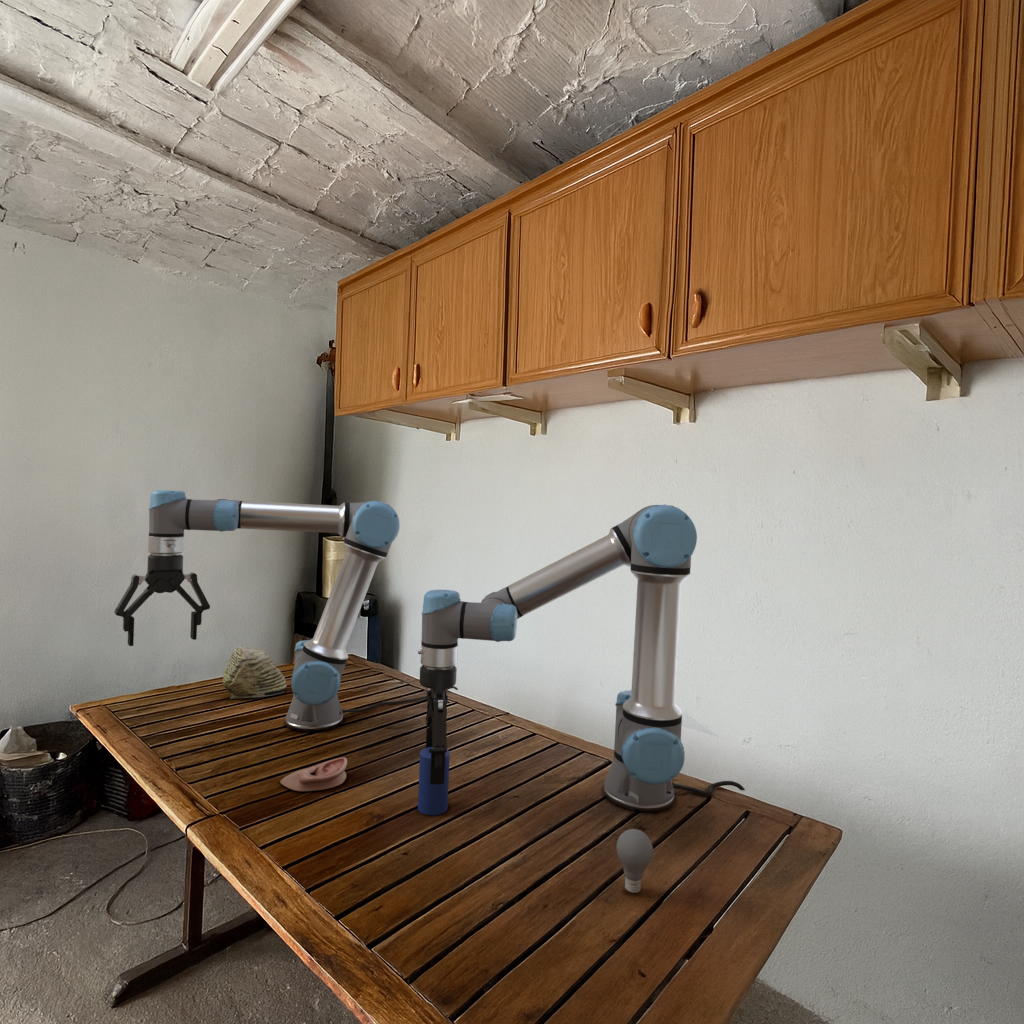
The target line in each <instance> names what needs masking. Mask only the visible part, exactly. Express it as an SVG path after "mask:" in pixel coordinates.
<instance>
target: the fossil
mask: <svg viewBox="0 0 1024 1024" xmlns="http://www.w3.org/2000/svg"><path fill="white" fill-rule="evenodd" d="M222 676H223V677H222V685H223V687H224V688H225V690H226V691H228V693H229V698H230V699H250V698H264V697H271V696H275V695H281V694H284V693H285V691H286V689H287V687H288V686H287V680H286V678H285V676H284V674H283V673H282V672H281V669H279V668H278V667H277V665H276V663H275V662H274V660H273V659H272V658H271V657H270V656H269V655H268V654H267V653H266V652H265V650H264V649H263V648H260V647H258V648H251V647H247V646H246V647H245V646H238V647H237V648H236V649H235V650H233V651H232V653H231V656H230V657H229V659H228V660H227V663H226V666H225V668H224V671H223V675H222Z"/></svg>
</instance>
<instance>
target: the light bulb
mask: <svg viewBox="0 0 1024 1024" xmlns="http://www.w3.org/2000/svg"><path fill="white" fill-rule="evenodd" d="M615 849H616V854H617V857H618V859H619V861H620V863H621V865H622V867H623V873H624V874H623V875H624V876H625V878H624V888H625V890H627V891H628V892H630V893H634V894H635V893H639V892H640V891H641V889H642V887H641V886H642V879H643V877H644V875H645V871H646V868H647V867H648V866H649V864H650V863H651V861H652V859H653V855H654V847H653V843H652V841H651V838H649V836H648V835H647V834H646V833H645V832H643V831H642V830H641V829H636V828H629V829H627V830H625V831H623V832H622V833H621V834H620V835H619V837H618V839H617V841H616V847H615Z"/></svg>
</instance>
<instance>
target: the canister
mask: <svg viewBox="0 0 1024 1024" xmlns="http://www.w3.org/2000/svg"><path fill="white" fill-rule="evenodd" d="M429 749H432V747H428V748H426V747H425V748H423V749H421V750H420V752H419V766H418V767H419V769H418V792H417V810H418V812H419V813H420V814H422V815H426V816H438V815H442V814H445V812H447V810H448V804H449V803H448V802H449V781H450V758H451V751H450V750H449V749H447V752H445V769H444V784H430V767H431V753H429Z"/></svg>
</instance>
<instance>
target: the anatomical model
mask: <svg viewBox="0 0 1024 1024" xmlns="http://www.w3.org/2000/svg"><path fill="white" fill-rule="evenodd" d="M347 766H348V758H347V757H343V756H342V757H338V758H334V759H330V760H327V761H326V760H325V761H324V762H320V763H318V764H316V765H313V766H310V767H307V768H303V769H299V770H296V771H294V772H292V773H290V774H288V775H286V776H284V777H282V779H280V782H279V783H280V785H282V786H283V787H285V788H286V789H289V790H292V791H295V792H312V791H313V792H314V791H322V790H327V789H331V788H335V787H338V786H341V785H342V784H343V783H344V782H345V781H346V779H347V773H346V771H345V770H346V769H347Z"/></svg>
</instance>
